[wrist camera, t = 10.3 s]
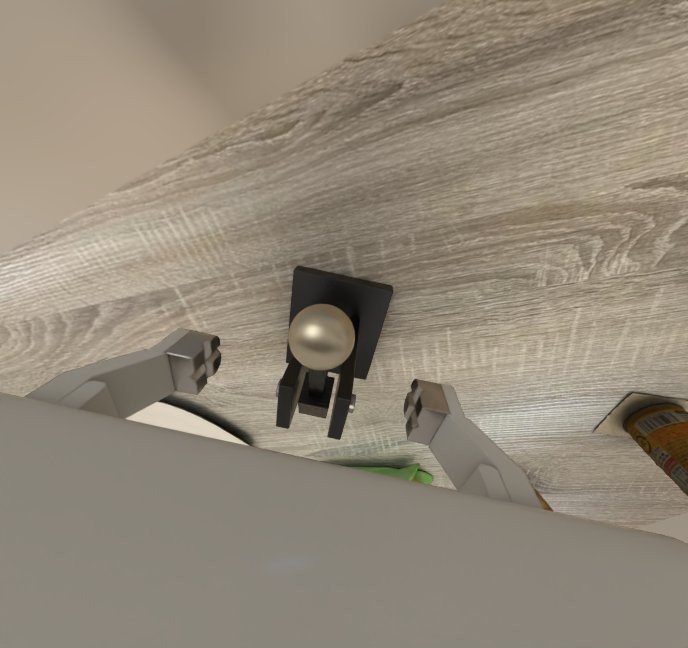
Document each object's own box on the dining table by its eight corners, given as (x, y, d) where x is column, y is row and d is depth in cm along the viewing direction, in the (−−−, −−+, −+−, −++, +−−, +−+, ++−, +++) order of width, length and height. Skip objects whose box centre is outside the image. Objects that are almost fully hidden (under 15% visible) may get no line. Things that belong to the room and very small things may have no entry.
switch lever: (297, 283, 12) (275, 341, 10) (364, 298, 12) (354, 358, 10) (302, 378, 22) (291, 416, 20) (338, 386, 22) (330, 425, 20)
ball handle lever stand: (297, 265, 26) (241, 330, 15) (392, 285, 26) (405, 365, 15) (289, 355, 32) (244, 448, 21) (366, 372, 32) (361, 473, 21)
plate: (272, 432, 41) (268, 443, 39) (235, 501, 54) (230, 512, 52) (99, 364, 37) (85, 373, 35) (105, 457, 50) (95, 467, 49)
